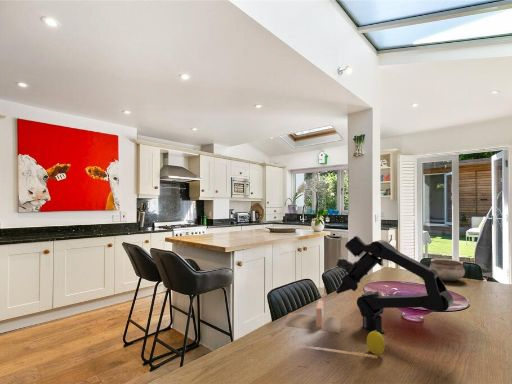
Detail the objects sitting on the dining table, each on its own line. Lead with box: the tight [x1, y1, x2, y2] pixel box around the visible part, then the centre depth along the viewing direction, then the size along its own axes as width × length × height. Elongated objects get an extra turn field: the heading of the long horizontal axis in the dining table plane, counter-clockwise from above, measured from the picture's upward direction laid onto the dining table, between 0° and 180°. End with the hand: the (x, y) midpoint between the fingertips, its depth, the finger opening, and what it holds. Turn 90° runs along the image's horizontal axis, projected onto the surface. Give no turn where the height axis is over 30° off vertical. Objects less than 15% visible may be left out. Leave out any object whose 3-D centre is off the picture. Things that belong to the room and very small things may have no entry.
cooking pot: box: [429, 258, 466, 283], centre depth 187 cm, size 25×19×12 cm
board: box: [282, 312, 342, 334], centre depth 120 cm, size 22×14×1 cm, turn 73°
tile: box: [315, 299, 325, 328], centre depth 119 cm, size 2×10×8 cm, turn 163°
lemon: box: [366, 330, 386, 357], centre depth 95 cm, size 6×6×8 cm
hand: (336, 292), depth 118 cm, fingers closed
